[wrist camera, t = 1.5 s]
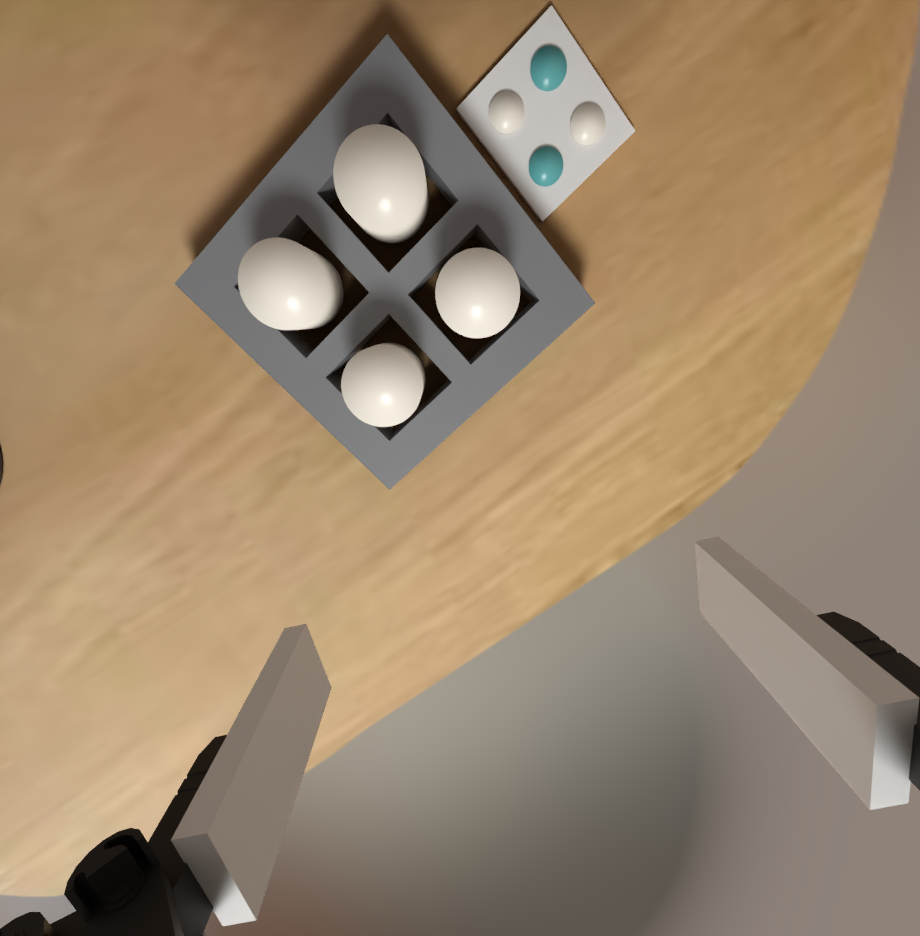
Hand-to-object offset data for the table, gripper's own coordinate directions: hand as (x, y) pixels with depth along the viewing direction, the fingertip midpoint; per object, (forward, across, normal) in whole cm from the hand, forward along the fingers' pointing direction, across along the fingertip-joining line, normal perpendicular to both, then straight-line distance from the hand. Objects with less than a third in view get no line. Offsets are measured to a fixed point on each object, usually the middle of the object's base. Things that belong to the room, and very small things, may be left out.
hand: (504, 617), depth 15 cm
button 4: (+25, +3, +11) cm, 27 cm away
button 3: (+25, -5, +6) cm, 26 cm away
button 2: (+25, -2, +19) cm, 31 cm away
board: (+27, -4, +12) cm, 30 cm away
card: (+28, +11, +22) cm, 37 cm away
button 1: (+25, -10, +14) cm, 30 cm away
